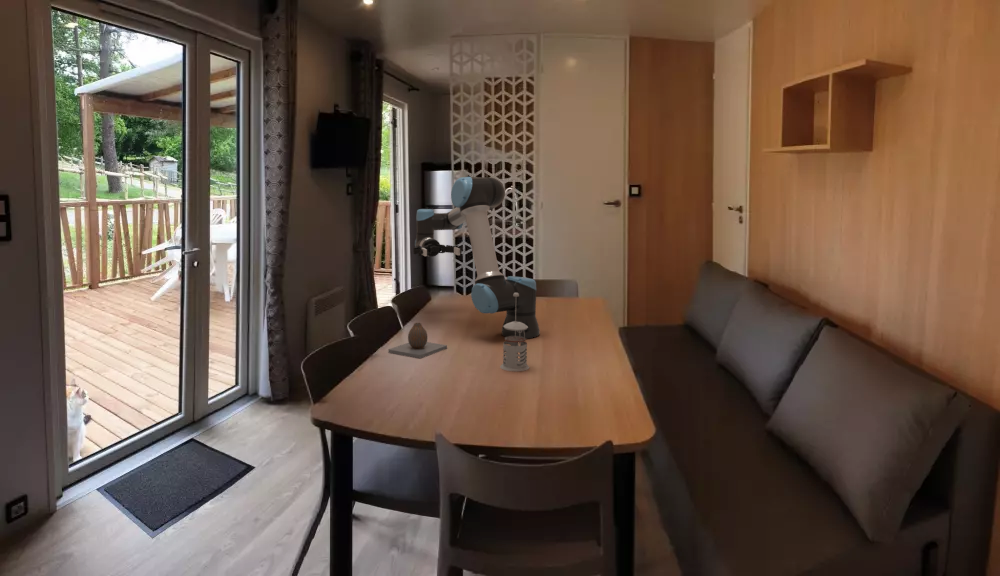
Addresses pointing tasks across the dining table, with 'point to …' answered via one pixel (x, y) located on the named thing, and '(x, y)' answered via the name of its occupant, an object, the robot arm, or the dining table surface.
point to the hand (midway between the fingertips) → (442, 252)
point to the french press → (515, 347)
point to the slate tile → (417, 350)
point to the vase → (417, 336)
